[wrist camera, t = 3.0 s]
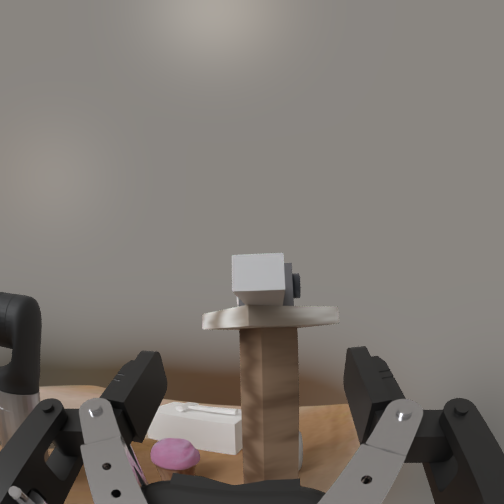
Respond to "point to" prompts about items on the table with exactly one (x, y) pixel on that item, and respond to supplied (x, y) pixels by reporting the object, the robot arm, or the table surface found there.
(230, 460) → the table surface
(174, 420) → the tissue box
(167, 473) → the cupcake
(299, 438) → the donut
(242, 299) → the grey block with knob
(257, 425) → the stand
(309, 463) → the table surface
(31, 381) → the robot arm
